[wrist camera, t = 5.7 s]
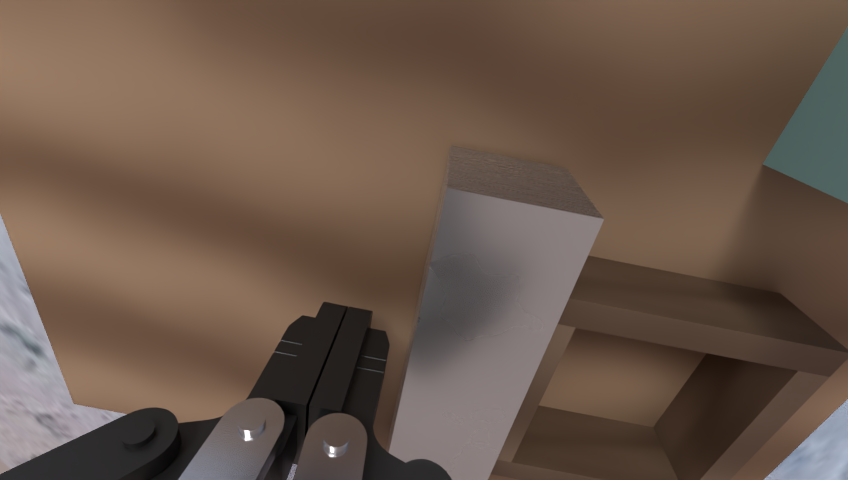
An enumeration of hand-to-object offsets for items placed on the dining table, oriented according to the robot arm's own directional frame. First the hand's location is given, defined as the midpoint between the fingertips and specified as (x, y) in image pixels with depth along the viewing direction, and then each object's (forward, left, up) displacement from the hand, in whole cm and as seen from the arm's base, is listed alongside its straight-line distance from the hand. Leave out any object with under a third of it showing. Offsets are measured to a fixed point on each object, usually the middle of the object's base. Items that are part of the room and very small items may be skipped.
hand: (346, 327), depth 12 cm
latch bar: (0, +3, -1) cm, 4 cm away
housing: (-2, +3, -3) cm, 5 cm away
